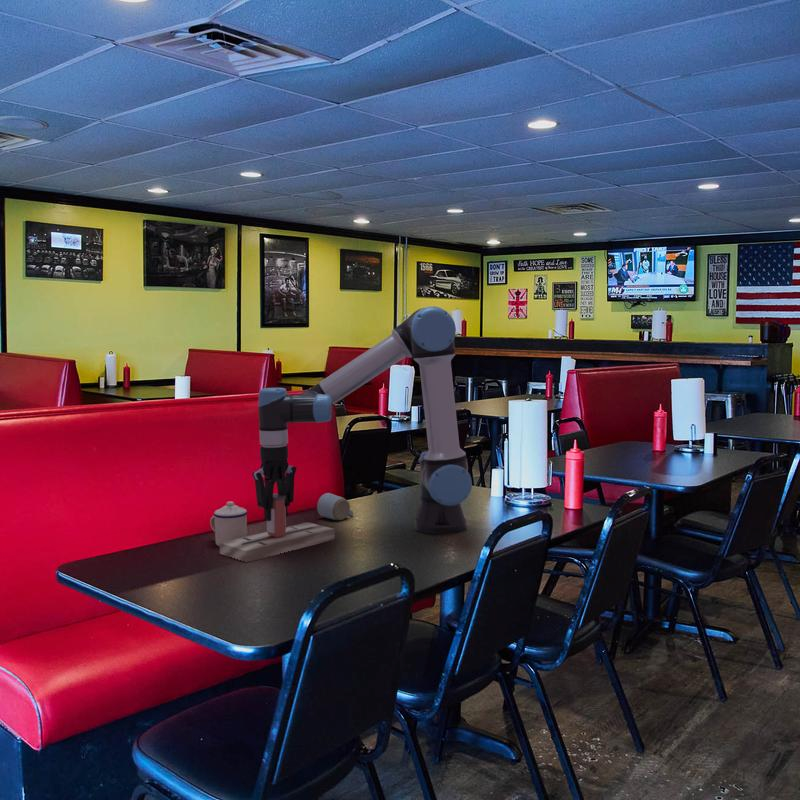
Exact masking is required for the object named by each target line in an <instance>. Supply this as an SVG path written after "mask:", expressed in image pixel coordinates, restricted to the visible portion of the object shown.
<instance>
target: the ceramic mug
mask: <svg viewBox="0 0 800 800" xmlns="http://www.w3.org/2000/svg"><path fill="white" fill-rule="evenodd" d="M316 505H317V506H316V509H317V512H318V515H320V517H323V518H326V519H330V520H333V521H343V520H345V519H346V518H347V517H348V516H350V517H353V516H354V511H353V510H351V508H350V507H351V506H350V505H351V504H350V503H349V500H347V499H346V498H344V497H342V496H339V495H336V494H333V493H331V492H327V493H323V494H322V495H320V497H319V499H318V501H317V504H316Z"/></svg>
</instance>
